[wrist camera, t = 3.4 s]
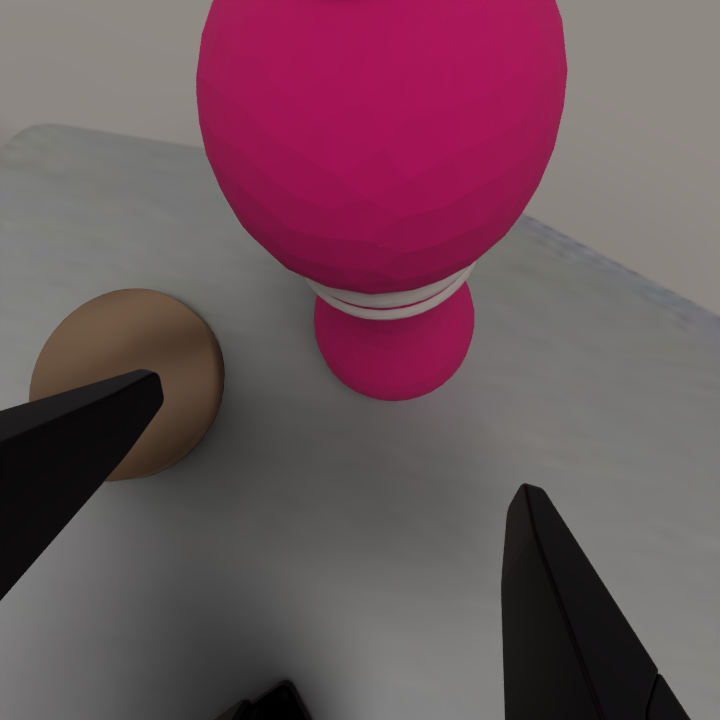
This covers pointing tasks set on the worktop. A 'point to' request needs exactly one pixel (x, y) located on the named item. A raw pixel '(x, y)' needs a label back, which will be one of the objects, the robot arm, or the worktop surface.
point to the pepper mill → (382, 159)
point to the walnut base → (140, 351)
